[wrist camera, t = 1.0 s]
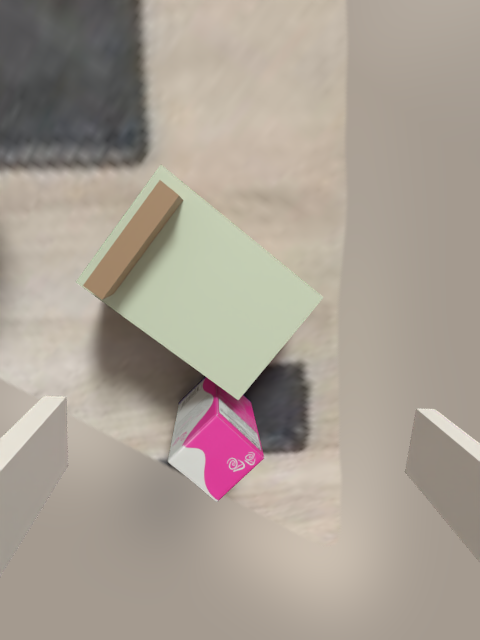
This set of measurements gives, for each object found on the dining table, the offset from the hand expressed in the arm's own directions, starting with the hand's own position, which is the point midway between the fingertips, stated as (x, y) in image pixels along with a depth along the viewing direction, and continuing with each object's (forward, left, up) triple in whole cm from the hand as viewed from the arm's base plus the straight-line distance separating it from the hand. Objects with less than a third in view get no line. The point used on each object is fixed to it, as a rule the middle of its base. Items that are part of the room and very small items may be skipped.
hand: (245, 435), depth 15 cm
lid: (-4, +1, -18) cm, 19 cm away
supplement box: (+5, -9, -27) cm, 29 cm away
